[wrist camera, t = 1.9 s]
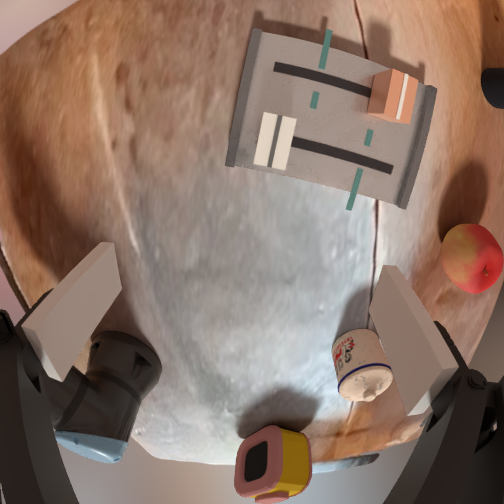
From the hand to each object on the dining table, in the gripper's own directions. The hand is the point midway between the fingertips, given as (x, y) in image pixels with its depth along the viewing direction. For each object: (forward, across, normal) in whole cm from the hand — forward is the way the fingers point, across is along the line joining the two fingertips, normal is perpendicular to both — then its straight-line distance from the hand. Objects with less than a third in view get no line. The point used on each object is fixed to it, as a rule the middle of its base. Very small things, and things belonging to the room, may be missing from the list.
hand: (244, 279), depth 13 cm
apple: (+23, +31, -6) cm, 39 cm away
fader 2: (+20, +13, +12) cm, 27 cm away
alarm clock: (+23, +8, -62) cm, 67 cm away
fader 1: (+20, +1, +5) cm, 21 cm away
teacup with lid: (+23, +19, -28) cm, 41 cm away
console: (+23, +8, +8) cm, 26 cm away
